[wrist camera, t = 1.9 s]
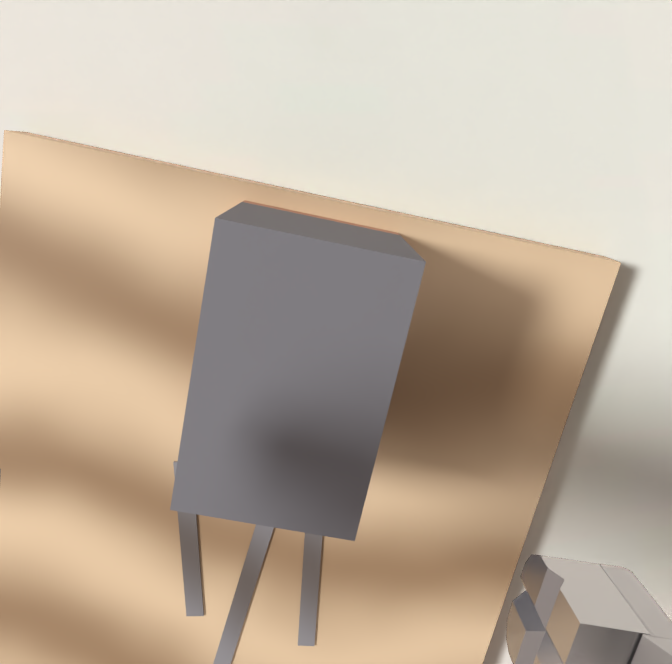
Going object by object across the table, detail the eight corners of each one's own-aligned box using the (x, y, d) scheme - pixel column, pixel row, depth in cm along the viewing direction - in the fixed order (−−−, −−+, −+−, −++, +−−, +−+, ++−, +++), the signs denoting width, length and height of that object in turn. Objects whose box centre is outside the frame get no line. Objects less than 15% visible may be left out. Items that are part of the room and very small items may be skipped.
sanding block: (244, 199, 17) (215, 217, 12) (397, 232, 18) (426, 261, 13) (208, 420, 19) (170, 509, 14) (346, 445, 19) (354, 541, 15)
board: (24, 131, 18) (2, 130, 16) (603, 256, 19) (622, 262, 18) (-13, 708, 24) (-32, 739, 22) (430, 770, 25) (435, 802, 24)
